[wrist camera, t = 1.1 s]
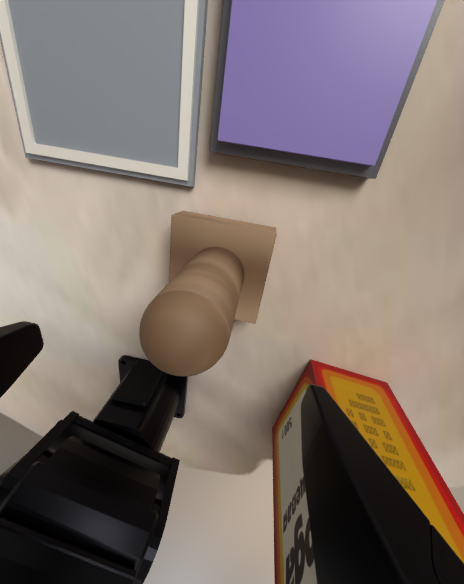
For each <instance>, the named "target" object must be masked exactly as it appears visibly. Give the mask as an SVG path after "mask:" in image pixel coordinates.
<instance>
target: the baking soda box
mask: <svg viewBox="0 0 464 584" xmlns="http://www.w3.org/2000/svg"><path fill="white" fill-rule="evenodd" d="M310 384H315V385H319V386H323V387H324V388H325V389H326V390H327V391H328V393H329V394H330V395H331V397H332V398H333V399H334V400H335V402H336V403H337V404H338V405H339V407H340V408H341V409H342V410H343V412H344V413H345V414H346V416H347V417H348V418H349V419H350V421H351V422H352V423H353V424H354V426H355V427H356V428H357V429H358V431H359V432H360V433H361V434H362V436H363V437H364V438H365V440H366V441H367V442H368V443H369V445H370V446H371V447H372V448H373V450H374V451H375V452H376V453H377V455H378V456H379V457H380V458H381V460H382V461H383V462H384V464H385V465H386V466H387V467H388V469H389V470H390V471H391V472H392V474H393V475H394V476H395V477H396V479H397V480H398V481H399V483H400V484H401V485H402V486H403V488H404V489H405V490H406V491H407V493H408V494H409V495H410V496H411V498H412V499H413V500H414V501H415V503H416V504H417V505H418V507H419V508H420V509H421V510H422V512H423V513H424V514H425V515H426V517H427V518H428V519H429V521H430V525H433V526H434V527H435V528H436V529H437V530H438V532H439V533H440V534H441V535H442V537H443V538H444V539H445V540H446V542H447V543H448V544H449V546H450V547H451V548H452V549H453V550H454V552H455V553H456V554H457V555H458V557H459V558H460V559H461V560H462V562H463V563H464V514H463V513H462V511H461V509H460V507H459V506H458V504H457V503H456V500H455V499H454V497H453V495H452V494H451V492H450V490H449V488H448V487H447V485H446V483H445V481H444V480H443V478H442V476H441V475H440V473H439V471H438V469H437V468H436V466H435V464H434V463H433V461H432V459H431V457H430V456H429V454H428V452H427V451H426V449H425V447H424V445H423V444H422V442H421V440H420V439H419V437H418V435H417V433H416V432H415V430H414V428H413V427H412V425H411V423H410V421H409V420H408V418H407V416H406V415H405V413H404V411H403V409H402V408H401V406H400V404H399V403H398V401H397V399H396V397H395V396H394V394H393V392H392V390H391V389H390V387H389V385H388V384H387V383H386V382H383V381H380V380H376V379H373V378H370V377H366V376H363V375H360V374H357V373H353V372H350V371H347V370H344V369H340V368H337V367H334V366H330V365H327V364H324V363H321V362H317V361H314V360H310V362H309V363H308V365H307V367H306V369H305V370H304V372H303V374H302V376H301V378H300V379H299V381H298V383H297V385H296V386H295V388H294V390H293V392H292V394H291V395H290V397H289V399H288V401H287V402H286V404H285V406H284V408H283V410H282V411H281V413H280V415H279V417H278V419H277V420H276V422H275V424H274V426H273V427H272V443H273V502H274V503H273V504H274V565H275V584H317V578H316V570H315V562H314V554H313V546H312V538H311V530H310V522H309V514H308V506H307V499H306V491H305V483H304V475H303V465H302V444H301V403H302V400H303V397H304V395H305V393H306V390H307V388H308V386H309V385H310Z"/></svg>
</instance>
